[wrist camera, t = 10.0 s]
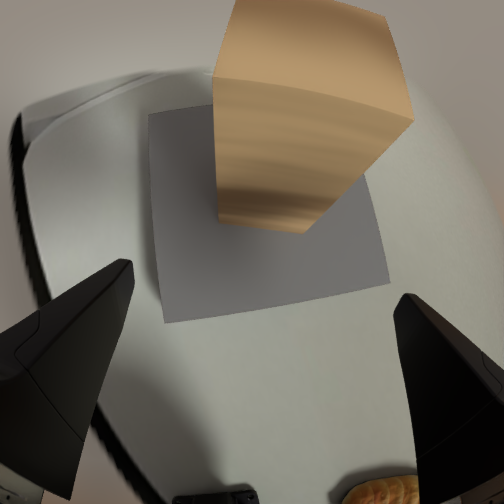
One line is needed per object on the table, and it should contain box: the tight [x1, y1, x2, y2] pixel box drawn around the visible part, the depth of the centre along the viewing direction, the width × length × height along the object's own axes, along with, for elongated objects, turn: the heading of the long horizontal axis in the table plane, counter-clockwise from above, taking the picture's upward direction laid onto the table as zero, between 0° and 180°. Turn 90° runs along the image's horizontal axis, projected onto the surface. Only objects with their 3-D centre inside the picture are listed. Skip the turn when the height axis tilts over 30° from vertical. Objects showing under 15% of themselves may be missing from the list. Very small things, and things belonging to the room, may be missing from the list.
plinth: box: [149, 105, 390, 323], centre depth 20 cm, size 14×14×3 cm
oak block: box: [212, 0, 414, 234], centre depth 12 cm, size 5×5×12 cm
